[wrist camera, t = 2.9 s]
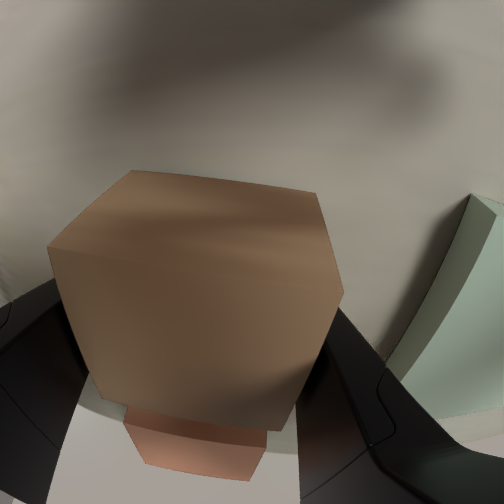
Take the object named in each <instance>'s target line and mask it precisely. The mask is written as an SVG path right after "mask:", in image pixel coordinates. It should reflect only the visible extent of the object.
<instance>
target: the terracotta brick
mask: <svg viewBox="0 0 504 504" xmlns="http://www.w3.org/2000/svg"><path fill="white" fill-rule="evenodd" d="M123 424H124V426H125V428H126V429H127V431H128V433H129V435H130V437H131V439H132V441H133V443H134V444H135V446H136V448H137V450H138V452H139V453H140V455H141V457H142V459H143V460H144V462H145V464H149V465H154V466H157V467H162V468H166V469H171V470H176V471H181V472H186V473H191V474H197V475H203V476H209V477H216V478H224V479H232V480H241V481H250V479H251V477H252V475H253V473H254V471H255V469H256V467H257V465H258V463H259V461H260V459H261V457H262V455H263V453H264V451H265V449H266V441H267V430H258V429H248V428H239V427H231V426H224V425H217V424H211V423H204V422H199V421H193V420H187V419H182V418H177V417H172V416H168V415H163V414H159V413H154V412H150V411H146V410H142V409H138V408H134V407H130V406H128V409H127V412H126V415H125V418H124V421H123Z"/></svg>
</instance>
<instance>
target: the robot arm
mask: <svg viewBox="0 0 504 504" xmlns="http://www.w3.org/2000/svg"><path fill="white" fill-rule="evenodd" d="M88 374H89V370H88V368H87V365H86V363H85V361H84V358H83V356H82V354H81V351H80V349H79V346H78V344H77V341H76V339H75V336H74V333H73V331H72V328H71V325H70V323H69V320H68V317H67V314H66V311H65V308H64V305H63V302H62V299H61V296H60V293H59V290H58V286H57V283H56V280H55V278H53V279H51V280H49V281H48V282H46V283H44V284H42V285H40V286H38V287H37V288H35V289H33V290H31V291H29V292H27V293H26V294H24V295H22V296H20V297H18V298H17V299H15V300H13V302H9V303H8V304H6V305H4V306H3V307H1V308H0V504H12V502H13V499H14V498H16V499H18V500H20V501H22V502H24V503H26V504H46V501H47V496H48V493H49V489H50V485H51V482H52V478H53V474H54V471H55V468H56V465H57V461H58V458H59V455H60V450H61V448H62V445H63V442H64V439H65V436H66V433H67V430H68V427H69V424H70V421H71V419H72V416H73V413H74V410H75V408H76V405H77V402H78V400H79V397H80V394H81V392H82V389H83V387H84V384H85V382H86V379H87V377H88ZM295 405H296V422H297V439H298V459H299V481H300V499H301V501H300V504H504V458H501V457H496V456H492V455H488V454H483V453H479V452H475V451H472V450H470V449H467V448H465V447H464V446H462V445H460V444H459V443H458V442H456V441H455V440H454V439H453V438H452V437H451V436H450V435H449V434H448V433H447V432H446V431H445V430H444V429H443V428H442V427H441V426H440V425H439V424H438V423H437V422H436V421H435V420H434V418H433V417H432V416H431V415H430V414H429V413H428V412H427V411H426V410H425V409H424V408H423V407H422V406H421V405H420V404H419V403H418V402H417V401H416V399H415V398H414V397H413V396H412V395H411V394H410V393H409V392H408V391H407V390H406V388H405V387H404V386H403V385H402V384H401V382H400V381H399V380H398V379H397V378H396V376H395V375H394V374H393V373H392V371H391V370H390V369H389V368H388V367H386V364H385V363H384V362H383V360H382V359H381V358H380V357H379V355H378V354H377V353H376V352H375V351H374V349H373V348H372V347H371V346H370V344H369V343H368V342H367V341H366V339H365V338H364V337H363V336H362V335H361V333H360V332H359V331H358V330H357V329H356V327H355V326H354V325H353V324H352V322H351V321H350V320H349V319H348V318H347V316H346V315H345V314H344V313H343V312H342V310H341V309H340V308H339V307H338V309H337V311H336V314H335V316H334V319H333V321H332V324H331V326H330V328H329V331H328V333H327V336H326V338H325V340H324V343H323V345H322V347H321V349H320V352H319V354H318V356H317V358H316V361H315V363H314V365H313V367H312V370H311V372H310V374H309V376H308V378H307V380H306V382H305V385H304V387H303V389H302V391H301V393H300V395H299V397H298V399H297V401H296V403H295Z"/></svg>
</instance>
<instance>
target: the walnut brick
mask: <svg viewBox="0 0 504 504" xmlns="http://www.w3.org/2000/svg"><path fill="white" fill-rule="evenodd" d="M47 250H48V254H49V258H50V262H51V265H52V269H53V273H54V276H55V280H56V283H57V286H58V290H59V293H60V296H61V299H62V302H63V305H64V308H65V311H66V314H67V317H68V320H69V323H70V325H71V328H72V331H73V333H74V336H75V339H76V341H77V344H78V346H79V349H80V351H81V354H82V356H83V358H84V361H85V363H86V365H87V368H88V370H89V372H90V374H91V377H92V379H93V381H94V383H95V385H96V387H97V389H98V391H99V393H100V396H101V398H103V399H106V400H109V401H113V402H116V403H120V404H123V405H127V406H130V407H134V408H138V409H142V410H146V411H150V412H154V413H159V414H163V415H168V416H172V417H177V418H182V419H187V420H193V421H199V422H204V423H211V424H217V425H224V426H231V427H239V428H248V429H258V430H269V431H281V430H282V429H283V427H284V425H285V423H286V421H287V419H288V417H289V415H290V413H291V411H292V409H293V407H294V405H295V403H296V401H297V399H298V397H299V395H300V393H301V391H302V389H303V387H304V385H305V382H306V380H307V378H308V376H309V374H310V372H311V370H312V367H313V365H314V363H315V361H316V358H317V356H318V354H319V352H320V349H321V347H322V345H323V343H324V340H325V338H326V336H327V333H328V331H329V328H330V326H331V324H332V321H333V319H334V316H335V314H336V311H337V309H338V306H339V304H340V301H341V299H342V296H343V294H344V290H343V286H342V282H341V278H340V275H339V271H338V267H337V263H336V260H335V256H334V252H333V249H332V245H331V242H330V238H329V235H328V232H327V228H326V225H325V221H324V218H323V215H322V212H321V208H320V205H319V202H318V199H317V195H316V193H312V192H306V191H300V190H294V189H287V188H281V187H274V186H268V185H261V184H254V183H247V182H239V181H232V180H224V179H216V178H207V177H199V176H189V175H180V174H170V173H159V172H148V171H135V170H131V171H130V172H129V173H128V174H126V175H125V176H124V177H123V178H122V179H120V180H119V181H118V182H117V183H115V184H114V185H113V186H112V187H111V188H109V189H108V190H107V191H106V192H105V193H104V194H102V195H101V196H100V197H99V198H98V199H97V200H95V201H94V202H93V203H92V204H91V205H90V206H89V207H88V208H86V209H85V210H84V211H83V212H82V213H81V214H80V215H79V216H78V217H77V218H76V219H74V220H73V221H72V222H71V223H70V224H69V225H68V226H67V227H66V228H65V229H64V230H63V231H62V232H61V233H60V234H59V235H58V236H57V237H56V238H55V239H54V240H53V241H52V242H51V243H50V244H49V245H48V246H47Z"/></svg>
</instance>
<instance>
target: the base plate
mask: <svg viewBox="0 0 504 504" xmlns="http://www.w3.org/2000/svg"><path fill="white" fill-rule="evenodd" d="M386 367H388V368H389V369H390V370H391V371H392V373H393V374H394V375H395V376H396V378H397V379H398V380H399V381H400V382H401V384H402V385H403V386H404V387H405V388H406V390H407V391H408V392H409V393H410V394H411V395H412V396H413V397H414V398H415V399H416V401H417V402H418V403H419V404H420V405H421V406H422V407H423V408H424V409H425V410H426V411H427V412H428V413H429V414H430V415H431V416H432V417H433V418H434V419H441V418H447V417H454V416H460V415H466V414H471V413H476V412H481V411H486V410H490V409H495V408H499V407H503V406H504V205H502V204H499V203H497V202H494V201H491V200H489V199H486V198H483V197H480V196H478V195H475V194H472V193H471V196H470V199H469V202H468V204H467V207H466V210H465V212H464V215H463V217H462V220H461V222H460V225H459V227H458V230H457V232H456V234H455V237H454V239H453V241H452V244H451V246H450V248H449V250H448V253H447V255H446V257H445V259H444V261H443V263H442V265H441V267H440V270H439V272H438V274H437V276H436V278H435V280H434V282H433V284H432V286H431V287H430V289H429V291H428V293H427V295H426V297H425V299H424V301H423V302H422V304H421V306H420V308H419V310H418V312H417V313H416V315H415V317H414V319H413V320H412V322H411V324H410V325H409V327H408V329H407V330H406V332H405V334H404V335H403V337H402V339H401V340H400V342H399V344H398V345H397V347H396V348H395V350H394V351H393V353H392V355H391V356H390V358H389V359H388V361H387V362H386Z"/></svg>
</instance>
